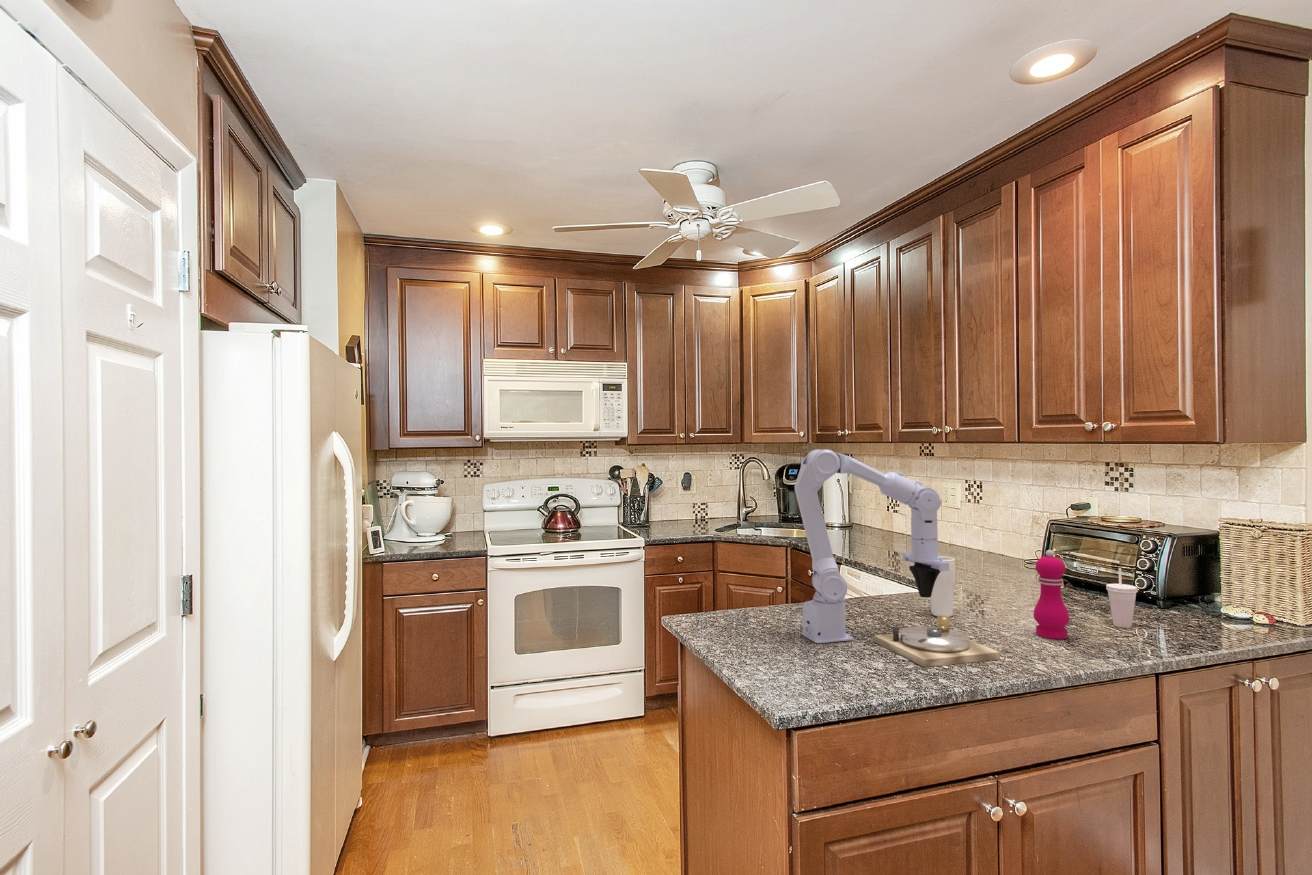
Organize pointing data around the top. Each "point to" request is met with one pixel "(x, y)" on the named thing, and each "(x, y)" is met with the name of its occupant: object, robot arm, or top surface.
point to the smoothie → (1122, 602)
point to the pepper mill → (1051, 598)
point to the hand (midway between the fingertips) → (925, 596)
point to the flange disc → (935, 637)
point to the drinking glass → (944, 591)
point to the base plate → (933, 657)
